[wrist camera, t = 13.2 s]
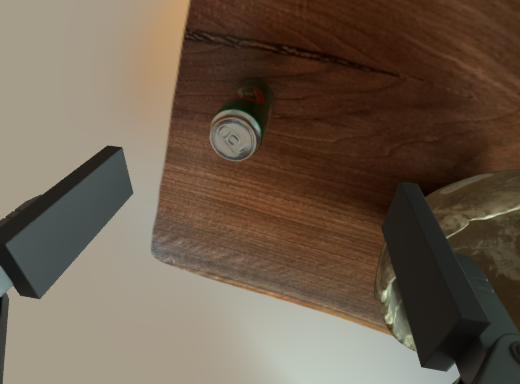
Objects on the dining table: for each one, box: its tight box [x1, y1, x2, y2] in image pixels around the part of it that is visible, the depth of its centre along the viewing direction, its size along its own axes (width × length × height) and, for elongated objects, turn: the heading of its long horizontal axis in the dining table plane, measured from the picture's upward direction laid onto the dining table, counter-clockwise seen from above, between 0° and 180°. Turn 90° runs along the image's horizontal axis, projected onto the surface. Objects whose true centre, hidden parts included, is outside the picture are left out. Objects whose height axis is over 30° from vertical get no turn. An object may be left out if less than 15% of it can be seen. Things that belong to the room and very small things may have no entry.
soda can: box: [209, 79, 275, 161], centre depth 31 cm, size 5×5×12 cm
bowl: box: [374, 170, 520, 364], centre depth 35 cm, size 28×27×15 cm
